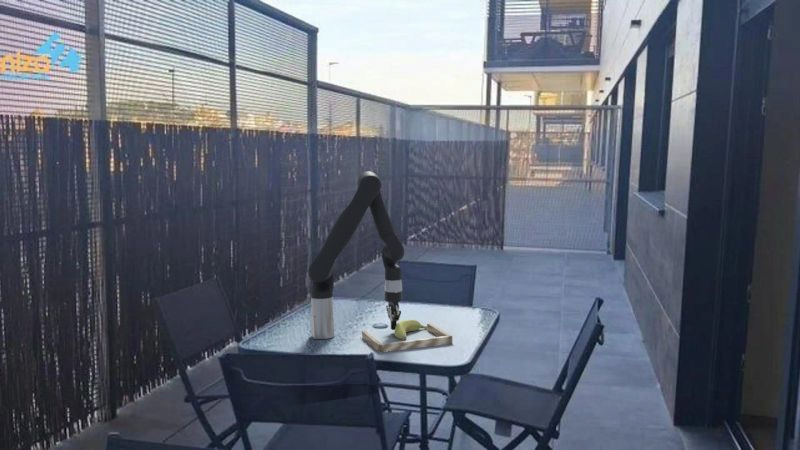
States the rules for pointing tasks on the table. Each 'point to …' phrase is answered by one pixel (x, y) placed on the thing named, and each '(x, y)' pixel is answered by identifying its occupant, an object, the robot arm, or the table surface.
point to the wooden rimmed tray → (410, 341)
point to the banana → (407, 328)
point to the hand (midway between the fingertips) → (393, 329)
